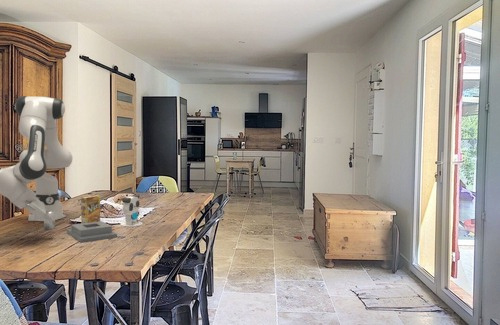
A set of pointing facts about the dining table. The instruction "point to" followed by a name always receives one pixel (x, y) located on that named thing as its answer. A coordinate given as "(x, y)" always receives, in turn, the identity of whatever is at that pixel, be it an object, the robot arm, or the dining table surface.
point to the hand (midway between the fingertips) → (51, 219)
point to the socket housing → (91, 231)
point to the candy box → (90, 209)
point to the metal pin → (51, 224)
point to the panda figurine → (131, 211)
